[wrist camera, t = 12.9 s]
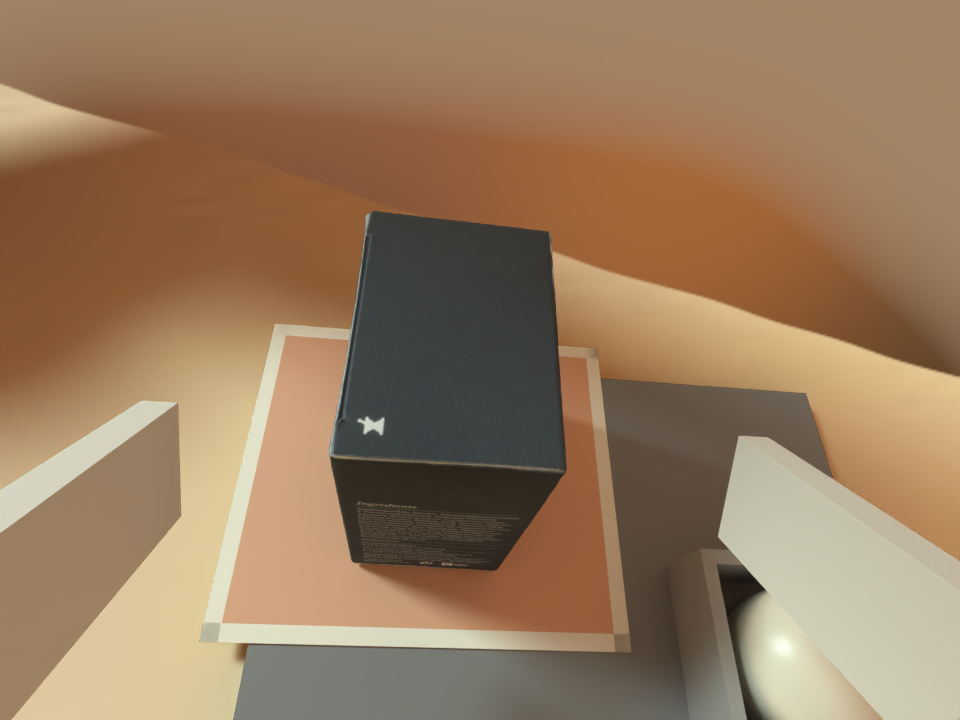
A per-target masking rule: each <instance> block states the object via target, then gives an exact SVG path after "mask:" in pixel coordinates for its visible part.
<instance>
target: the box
mask: <svg viewBox="0 0 960 720" xmlns="http://www.w3.org/2000/svg"><path fill="white" fill-rule="evenodd" d="M329 457H330V460H331V468H332V472H333V477H334V481H335V486H336V492H337V495H338V501H339V505H340V510H341V514H342V518H343V524H344V528H345V533H346V538H347V542H348V547H349V552H350V556H351V560H352V562H353V563H357V564H375V565H388V566H391V565H393V566H405V567H430V568H449V569H469V570H484V571H494V570H497V569H498V568H499V567H500V565H501V564H502V563H503V561H504V560H505V558H506V557H507V555H508V554H509V553H510V551H511V550H512V548H513V547H514V545H515V544H516V543H517V541H518V540H519V538H520V537H521V535H522V534H523V533H524V531H525V530H526V529H527V527H528V526H529V525H530V523H531V522H532V520H533V519H534V517H535V516H536V515H537V513H538V512H539V511H540V509H541V507H542V506H543V505H544V503H545V502H546V500H547V498H548V497H549V495H550V494H551V493H552V491H553V490H554V488H555V487H556V486H557V484H558V482H559V481H560V479H561V478H562V476H563V475H565V473H566V470H567V464H566V446H565V434H564V423H563V407H562V394H561V377H560V364H559V349H558V332H557V318H556V304H555V290H554V276H553V261H552V241H551V234H550V233H549V232H545V231H539V230H530V229H523V228H514V227H507V226H497V225H489V224H480V223H471V222H464V221H454V220H444V219H434V218H427V217H418V216H411V215H402V214H393V213H386V212H378V211H374V212H371V213H369V214H367V215H366V217H365V232H364V241H363V250H362V260H361V265H360V271H359V277H358V285H357V293H356V301H355V308H354V313H353V319H352V324H351V330H350V336H349V344H348V348H347V356H346V362H345V368H344V372H343V377H342V384H341V390H340V395H339V401H338V406H337V412H336V416H335V422H334V427H333V431H332V435H331V441H330V446H329Z"/></svg>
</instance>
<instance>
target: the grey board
mask: <svg viewBox="0 0 960 720" xmlns="http://www.w3.org/2000/svg"><path fill="white" fill-rule="evenodd" d="M350 330H351V329H339V328H327V327H314V326H301V325H288V324H275V326H274V330H273V334H272V338H271V343H270V347H269V351H268V355H267V359H266V363H265V368H264V372H263V376H262V380H261V384H260V389H259V393H258V397H257V401H256V405H255V410H254V414H253V418H252V422H251V426H250V430H249V435H248V439H247V443H246V447H245V451H244V456H243V460H242V464H241V468H240V472H239V476H238V481H237V485H236V489H235V493H234V497H233V502H232V506H231V510H230V514H229V518H228V523H227V527H226V531H225V535H224V539H223V543H222V548H221V552H220V556H219V560H218V564H217V569H216V573H215V577H214V581H213V585H212V589H211V594H210V598H209V602H208V606H207V610H206V615H205V619H204V623H203V627H202V631H201V636H200V640H199V642H212V643H248V648H247V653H246V658H245V663H244V668H243V673H242V678H241V683H240V688H239V693H238V698H237V703H236V708H235V713H234V718H233V720H751V719H750V718H749V717H748V715H747V714H746V713H745V707H744V702H743V697H742V692H741V687H740V682H739V677H738V672H737V667H736V661H735V656H734V651H733V646H732V641H731V636H730V631H729V626H728V621H727V619H728V617H729V615H730V613H731V612H732V610H733V609H734V608H735V606H736V605H737V604H738V603H739V602H741V601H742V600H743V599H745V598H746V597H748V596H750V595H752V594H755V593H758V592H761V591H764V590H766V589H765V588H764V587H763V586H762V585H761V584H760V583H759V582H758V581H757V579H756V578H755V577H754V576H753V575H752V574H751V573H750V572H749V571H748V570H747V568H746V567H745V566H744V565H743V564H742V563H741V562H740V561H739V560H738V559H737V557H736V556H735V555H734V554H733V553H732V552H731V551H730V550H729V549H728V547H727V546H726V545H725V544H724V543H723V542H722V541H721V540H720V539H719V538H718V534H719V529H720V524H721V519H722V514H723V509H724V505H725V500H726V495H727V490H728V485H729V480H730V475H731V471H732V466H733V461H734V456H735V451H736V446H737V441H738V437H739V436H754V437H768V438H770V439H772V440H773V441H775V442H776V443H778V444H779V445H781V446H782V447H784V448H785V449H787V450H789V451H790V452H792V453H793V454H795V455H796V456H798V457H799V458H801V459H802V460H804V461H806V462H807V463H809V464H810V465H812V466H813V467H815V468H816V469H818V470H820V471H821V472H823V473H824V474H826V475H827V476H829V477H830V478H832V479H833V477H832V474H831V470H830V467H829V464H828V461H827V458H826V455H825V452H824V449H823V446H822V442H821V439H820V436H819V433H818V430H817V427H816V424H815V421H814V418H813V414H812V411H811V408H810V405H809V402H808V399H807V396H806V393H793V392H779V391H765V390H752V389H738V388H724V387H710V386H696V385H683V384H669V383H655V382H641V381H628V380H614V379H601V378H600V370H599V361H598V352H597V349H596V348H583V347H570V346H558V349H559V364H560V377H561V394H562V407H563V423H564V434H565V446H566V464H567V470H566V473H565V475H563V476H562V478H561V479H560V481H559V482H558V484H557V486H556V487H555V488H554V490H553V491H552V493H551V494H550V495H549V497H548V498H547V500H546V502H545V503H544V505H543V506H542V507H541V509H540V511H539V512H538V513H537V515H536V516H535V517H534V519H533V520H532V522H531V523H530V525H529V526H528V527H527V529H526V530H525V531H524V533H523V534H522V535H521V537H520V538H519V540H518V541H517V543H516V544H515V545H514V547H513V548H512V550H511V551H510V553H509V554H508V555H507V557H506V558H505V560H504V561H503V563H502V564H501V565H500V567H499V568H498V569H497V570H494V571H484V570H469V569H449V568H430V567H405V566H393V565H391V566H388V565H375V564H357V563H353V562H352V560H351V556H350V552H349V547H348V542H347V538H346V533H345V528H344V524H343V518H342V514H341V510H340V505H339V501H338V495H337V492H336V486H335V481H334V477H333V472H332V468H331V460H330V457H329V446H330V441H331V435H332V431H333V427H334V422H335V416H336V412H337V406H338V401H339V395H340V390H341V384H342V377H343V372H344V368H345V362H346V356H347V348H348V344H349V336H350Z"/></svg>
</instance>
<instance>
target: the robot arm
mask: <svg viewBox="0 0 960 720" xmlns="http://www.w3.org/2000/svg"><path fill="white" fill-rule="evenodd" d="M180 517H181V491H180V457H179V422H178V403H175V402H158V401H140V402H138V403H137V404H135V405H134V406H132V407H130V408H129V409H127V410H126V411H124V412H123V413H121V414H119V415H118V416H116V417H115V418H113V419H112V420H110V421H108V422H107V423H105V424H104V425H102V426H100V427H99V428H97V429H96V430H94V431H93V432H91V433H89V434H88V435H86V436H85V437H83V438H82V439H80V440H78V441H77V442H75V443H74V444H72V445H70V446H69V447H67V448H66V449H64V450H63V451H61V452H59V453H58V454H56V455H55V456H53V457H52V458H50V459H48V460H47V461H45V462H44V463H42V464H40V465H39V466H37V467H36V468H34V469H33V470H31V471H29V472H28V473H26V474H25V475H23V476H22V477H20V478H18V479H17V480H15V481H14V482H12V483H10V484H9V485H7V486H6V487H4V488H3V489H1V490H0V720H11V719H12V718H13V717H14V716H15V714H16V713H17V712H18V711H19V710H20V708H21V707H22V706H23V705H24V704H25V702H26V701H27V700H28V699H29V698H30V696H31V695H32V694H33V693H34V692H35V690H36V689H37V688H38V687H39V686H40V684H41V683H42V682H43V681H44V680H45V678H46V677H47V676H48V675H49V674H50V672H51V671H52V670H53V669H54V668H55V667H56V665H57V664H58V663H59V662H60V661H61V659H62V658H63V657H64V656H65V655H66V653H67V652H68V651H69V650H70V649H71V647H72V646H73V645H74V644H75V643H76V641H77V640H78V639H79V638H80V637H81V635H82V634H83V633H84V632H85V631H86V629H87V628H88V627H89V626H90V625H91V623H92V622H93V621H94V620H95V619H96V617H97V616H98V615H99V614H100V613H101V611H102V610H103V609H104V608H105V607H106V605H107V604H108V603H109V602H110V601H111V599H112V598H113V597H114V596H115V595H116V593H117V592H118V591H119V590H120V589H121V587H122V586H123V585H124V584H125V583H126V581H127V580H128V579H129V578H130V577H131V575H132V574H133V573H134V572H135V571H136V569H137V568H138V567H139V566H140V565H141V563H142V562H143V561H144V560H145V559H146V557H147V556H148V555H149V554H150V553H151V551H152V550H153V549H154V548H155V547H156V545H157V544H158V543H159V542H160V541H161V539H162V538H163V537H164V536H165V535H166V533H167V532H168V531H169V530H170V529H171V527H172V526H173V525H174V524H175V523H176V521H177V520H178V519H179V518H180ZM718 538H719V539H720V540H721V541H722V542H723V543H724V544H725V545H726V546H727V547H728V549H729V550H730V551H731V552H732V553H733V554H734V555H735V556H736V557H737V559H738V560H739V561H740V562H741V563H742V564H743V565H744V566H745V567H746V568H747V570H748V571H749V572H750V573H751V574H752V575H753V576H754V577H755V578H756V579H757V581H758V582H759V583H760V584H761V585H762V586H763V587H764V588H765V589H766V591H767V592H768V593H769V594H770V595H771V596H772V597H773V598H774V599H775V600H776V602H777V603H778V604H779V605H780V606H781V607H782V608H783V609H784V610H785V611H786V613H787V614H788V615H789V616H790V617H791V618H792V619H793V620H794V621H795V622H796V624H797V625H798V626H799V627H800V628H801V629H802V630H803V631H804V632H805V634H806V635H807V636H808V637H809V638H810V639H811V640H812V641H813V642H814V643H815V645H816V646H817V647H818V648H819V649H820V650H821V651H822V652H823V653H824V654H825V656H826V657H827V658H828V659H829V660H830V661H831V662H832V663H833V664H834V666H835V667H836V668H837V669H838V670H839V671H840V672H841V673H842V674H843V675H844V677H845V678H846V679H847V680H848V681H849V682H850V683H851V684H852V685H853V686H854V688H855V689H856V690H857V691H858V692H859V693H860V694H861V695H862V696H863V698H864V699H865V700H866V701H867V702H868V703H869V704H870V705H871V706H872V707H873V709H874V710H875V711H876V712H877V713H878V714H879V715H880V716H881V717H882V718H883V720H960V561H959V560H957V559H956V558H954V557H953V556H951V555H950V554H948V553H946V552H945V551H943V550H942V549H940V548H939V547H937V546H936V545H934V544H933V543H931V542H929V541H928V540H926V539H925V538H923V537H922V536H920V535H919V534H917V533H916V532H914V531H912V530H911V529H909V528H908V527H906V526H905V525H903V524H902V523H900V522H898V521H897V520H895V519H894V518H892V517H891V516H889V515H888V514H886V513H885V512H883V511H881V510H880V509H878V508H877V507H875V506H874V505H872V504H871V503H869V502H868V501H866V500H864V499H863V498H861V497H860V496H858V495H857V494H855V493H854V492H852V491H850V490H849V489H847V488H846V487H844V486H843V485H841V484H840V483H838V482H837V481H835V480H833V479H832V478H830V477H829V476H827V475H826V474H824V473H823V472H821V471H820V470H818V469H816V468H815V467H813V466H812V465H810V464H809V463H807V462H806V461H804V460H802V459H801V458H799V457H798V456H796V455H795V454H793V453H792V452H790V451H789V450H787V449H785V448H784V447H782V446H781V445H779V444H778V443H776V442H775V441H773V440H772V439H770V438H768V437H754V436H739V437H738V441H737V446H736V451H735V456H734V461H733V466H732V471H731V475H730V480H729V485H728V490H727V495H726V500H725V505H724V509H723V514H722V519H721V524H720V529H719V534H718Z"/></svg>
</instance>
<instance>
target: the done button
mask: <svg viewBox="0 0 960 720" xmlns="http://www.w3.org/2000/svg"><path fill="white" fill-rule="evenodd" d="M727 621H728V626H729V631H730V636H731V641H732V646H733V651H734V656H735V661H736V667H737V672H738V677H739V682H740V687H741V692H742V697H743V702H744V707H745V713H746V714H747V715H748V717H749V718H750V719H751V720H883V718H882V717H881V716H880V715H879V714H878V713H877V712H876V711H875V710H874V709H873V707H872V706H871V705H870V704H869V703H868V702H867V701H866V700H865V699H864V698H863V696H862V695H861V694H860V693H859V692H858V691H857V690H856V689H855V688H854V686H853V685H852V684H851V683H850V682H849V681H848V680H847V679H846V678H845V677H844V675H843V674H842V673H841V672H840V671H839V670H838V669H837V668H836V667H835V666H834V664H833V663H832V662H831V661H830V660H829V659H828V658H827V657H826V656H825V654H824V653H823V652H822V651H821V650H820V649H819V648H818V647H817V646H816V645H815V643H814V642H813V641H812V640H811V639H810V638H809V637H808V636H807V635H806V634H805V632H804V631H803V630H802V629H801V628H800V627H799V626H798V625H797V624H796V622H795V621H794V620H793V619H792V618H791V617H790V616H789V615H788V614H787V613H786V611H785V610H784V609H783V608H782V607H781V606H780V605H779V604H778V603H777V602H776V600H775V599H774V598H773V597H772V596H771V595H770V594H769V593H768V592H767V591H766V590H764V591H761V592H758V593H755V594H752V595H750V596H748V597H746V598H745V599H743V600H742V601H741V602H739V603H738V604H737V605H736V606H735V608H734V609H733V610H732V612H731V613H730V615H729V617H728V619H727Z"/></svg>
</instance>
